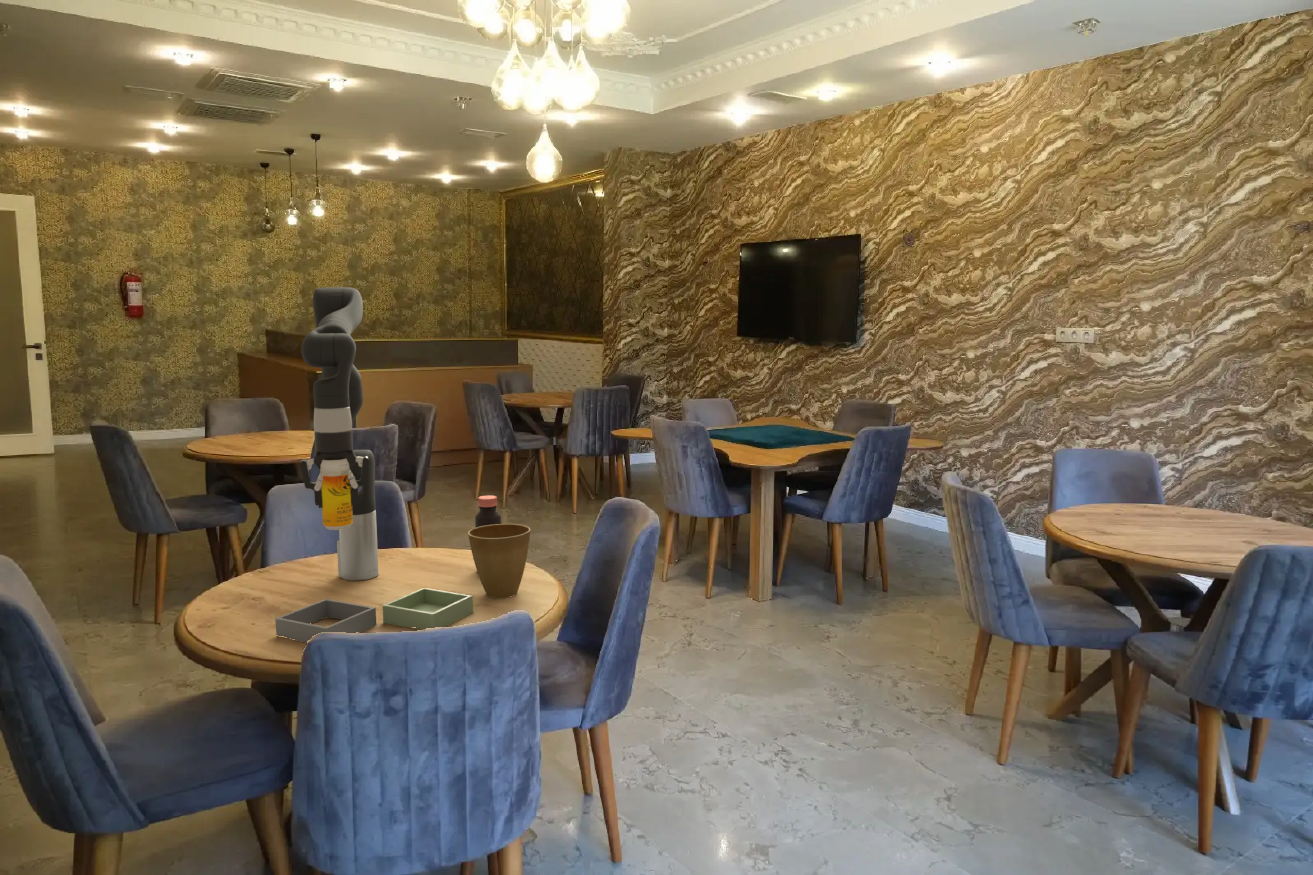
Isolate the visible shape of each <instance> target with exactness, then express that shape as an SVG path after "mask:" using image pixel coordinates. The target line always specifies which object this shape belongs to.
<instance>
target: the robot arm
mask: <svg viewBox="0 0 1313 875" xmlns="http://www.w3.org/2000/svg"><path fill="white" fill-rule="evenodd" d="M363 305H364V304H363V298H362V295H361V292H360V291H359V290H358V289H356V288H354V287H348V286H347V287H346V286H345V287H339V286H338V287H336V286H335V287H333V286H331V287H318V288H315V290H314V292H313V294H312V308H313V309H312V310H313V317H314V323H315V328H314V329H313V330H311V331H309V332H308V333H307V334H306V335H305V337H304V339H303V341H302V343H301V346H300V347H301V349H300V350H301V351H300V353H301V357H302V359H303V362H305V363H306V364H307V365H308V366H310V367H312V368H321V379H318V380H316V381H314V383H313V392H312V393H313V405H314V411H313V431H314V434H313V435H314V449H315V450H314V451H315V455H314V457H313V458H310V459H305V458H302V459H301V460H300V463H299V464H300V469H301V474H302V479H303V485H304V487H305V489H307V490H308V489H310V490H313V492H314V493H313V494H314V504H315V506H318V509H322V494H321V486H322V481H323V476H322V472H321V474H320V473H319V475H318V477H317V479H316V482H313V481H312V479H311V476H310V470H311V469H312V466H313V464H314V465H315V466H316V468H318V470H320V469H321V466H320V465H321V463H322V460H342V459H346V458H347V461H348V463H349V468H350V471H349V469H348V479H349V480H350V484H351V498H352V513H353V523H352V524H351V526H350V527H349V528H346V529H341V530H338V531H339V532H338V533H339V534H338V535H339V539H338V540H337V541H336V549H337V553H336V555H337V570H338V571H337V572H338V577H341V578H342V579H343V580H346V581H364V580H370V579H372V578H375V577H377V576H379V553H378V552H379V551H378V533H377V531H378V530H377V511H376V509H377V508H376V489H375V487H376V481H375V479H376V478H375V477H376V462H375V461H376V460H375V456H374V453H373V451H372V450H370V449H354V443H353V441H354V440H353V421H355V419H356V417H357V416H358V414H359V413H360V411H361V408H362V406H363V404H364V392H363V380H362V375H361V373H360V371H359V370H358V369H357V367H356V366H355V364H354V362H355V357H356V352H357V345H356V342H355V340H354V339H353V337H352V336H351V335H352V333H353V332H354V331H355V330H356V328H358V327H359V325H360V324H361V323H362V319H363V315H364V307H363ZM359 488H361V489H360V490H359Z"/></svg>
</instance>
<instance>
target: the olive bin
mask: <svg viewBox="0 0 1313 875" xmlns="http://www.w3.org/2000/svg"><path fill="white" fill-rule="evenodd" d="M473 601H474V600H473V595H472V594H471V595H470V594H466V593H465V594H464V593H459V592H454V591H453V592H451V591H446V590H439V589H434V588H427V587H423V588H420V589H418V590H415V591H413V592H410V593H408V594H407V595H403V596H401V597H399V598H396V599H393V600H392V601H390V602H387V603H385V604H382V623H383V624H389V625H392V626H393V625H394V626H398V627H404V628H409V627H416V628H413V629H414V630H419V629H426V628H435V627H443V628H445V627H447V626H450V625H452V624H453V623H455V622H457V621H459V620H461V619H463V618H465V617H466V616H469V615H471V614H473V613H474V602H473Z"/></svg>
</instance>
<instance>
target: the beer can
mask: <svg viewBox="0 0 1313 875" xmlns="http://www.w3.org/2000/svg"><path fill="white" fill-rule="evenodd" d="M320 466H321V469H319V474H321V472H322V476H323V481H322V486H321V494H322V508H321V512H322V513H321V514H322V517H321V518H322V525H323V527H325V529H326V530H330V531H339V530H341V529H346V528H349V527H350V526H351V524H352V523H353V513H352V498H351V487H352V486H351V484H350V480H349V479H348V469H349V471H350V468H349V463H348V461H347V458H346V459H342V460H322V463H321V465H320Z"/></svg>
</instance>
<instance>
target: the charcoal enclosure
mask: <svg viewBox="0 0 1313 875" xmlns="http://www.w3.org/2000/svg"><path fill="white" fill-rule="evenodd" d="M326 617H327V618H329V617H330V618H329V619H334V618H337V619H336V620H339V619H341V620H339V621H337V622H334V623H333V624H330V625H328V626H323V625H317V624H314V623H316V621H317V622H319V621H321V620H320V619H322V618H324V619H326ZM318 620H319V621H318ZM322 620H323V619H322ZM310 623H312V624H310ZM375 626H377V608H376V607H374V606H368V605H363V604H362V605H361V604H358V603H352V602H346V601H340V600H334V599H330V598H326V599H322V600H320V601H317V602H315V603H312V604H310V605H307V606H304V607H301V608H299V609H296V610H294V611H291V612H289V613H286V614H284V615H281V616H278V617H276V618H275V635H278V636H284V637H287V638H291V639H295V640H297V641H296V642H300V641H302V642H301V643H304V642H305V644H308V643H307V641H308V640H310V639H311V638H312V636H314V635H316V634H318V633H321V632H346V633H356V632H360V633H362V632H365V631H367V630H368V629H371V628H374V627H375ZM364 630H365V631H364ZM295 640H294V641H295Z"/></svg>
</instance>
